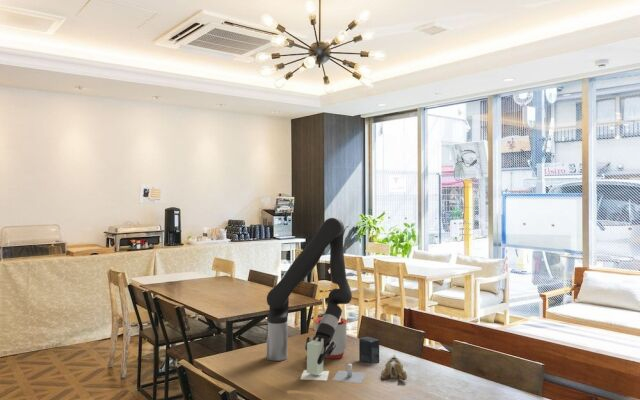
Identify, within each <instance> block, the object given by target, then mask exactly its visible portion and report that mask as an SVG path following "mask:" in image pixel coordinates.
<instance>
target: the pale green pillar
mask: <svg viewBox="0 0 640 400" xmlns="http://www.w3.org/2000/svg"><path fill="white" fill-rule="evenodd" d="M322 347H323V342H320V341H315V340H313V341H311V342H308V343H307V351H306V356H307V361H306V370H307V373H310V374H314V375H318V374H320V373H321V372H323V371H324V360H323V361H322V363H321V364H320V365H319V364H318V363H317V361H318V358H319V356H320V354H321V351H322Z"/></svg>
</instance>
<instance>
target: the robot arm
mask: <svg viewBox="0 0 640 400" xmlns="http://www.w3.org/2000/svg"><path fill="white" fill-rule="evenodd" d="M344 230H345V225H344V223H343V221H342V220H341V219H339V218H336V217H329V218H327V219H325V221H323V223H322V224H321V226H320V227H319V230H317V233H316V234H315V235H314V236H313V238H312V239H311V241H310V242H309V243H308V244H307V245H305V247H304V248H303V249H302V250H301V252H300V253H299V254H298V255H297V256H296V258H295V259H294V261H292V263H291V265H290V266H289V268H288V269H287V270H286V272H285V274H284V275H283V277H282V278H281V280H280V281H279V282H277V284H276V285H275V286H274V287H273V288H272V289H270V290H269V292H268V293H267V295H266V303H267V305H268V306H269V307H268V308H269V309H268V310H269V311H268V315H267V338H266V360H268V361H269V360H270V361H274V362H277V361H278V362H280V361H285V360H287V358H288V320H289V319H288V316H289V305H290V304H289V302H290V301H289V299H290V298H289V297H290V295H291V294H292V293H293V291H294V290H295V288H296V287H297V286H298V285H300V283H302V282H303V281H304V279H305V278H307V276H309V274H311V272H312V271H313V270H314V268H316V267H317V264H318V263H319V261H320V259H321V257H322V256H323V253H324V251H325V250H326V248H327V247H328V246H329V250H330V253H329V255H330V256H329V270H330V271H329V272H330V279H331V283H332V284H335V285H337V286H338V288H333V289H331V291H330V292H329V294H328V297H327V304H326V305H327V306H326V309H325V312H324V314H323V316H322V317H323V318H322V319H321V322H320V324H319V326H318V329H317V331H316V335H315V334H314V336H313V338H312V337H309V336H308V337H306V341H305V347H304V349H305V350H306V352H307V343H308V342H311V341H313V340H315V341H320V342H323V347H322V351H321V354H320V356H319V358H318V361H317V363H318V364H319V365H320V364H321V363H322V361H323V362H324V359H325V358H324V357H325V356H330V354H331V353H332V351H333V350H334V348H335V347H336V344H335V343H334V342H331V340H332V338H333V335H334V333H335V330H336V328H337V325H338V322H339V321H340V320H341V317H342V313H343V309H342V308H341V306H339V305H347V304H349V303H351V300H352V295H353V293H352V290H351V287H350V285H349V283H348V279H347V274H346V273H347V272H346V271H347V270H346V264H345V263H346V262H345V255H344V254H345V253H344ZM328 345H329V347H328V348H327V350H326V347H327V346H328ZM305 361H306V362H307V355H306V356H305Z"/></svg>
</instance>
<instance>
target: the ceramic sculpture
mask: <svg viewBox="0 0 640 400" xmlns="http://www.w3.org/2000/svg"><path fill="white" fill-rule="evenodd" d="M384 365H385V368H384V369H383V370H381V372H380V376H381V379H382V380H387V379H388V378H391V379H399V380H400V381H406V380H407V377H408V374H407V371H406V370H404V364H403V363H402V361H401V360H400V359H399V358H398V357H397V356H396V355H393V356H391V357H390V358H389V359H388V360H387V362H386V363H385V364H384Z"/></svg>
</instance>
